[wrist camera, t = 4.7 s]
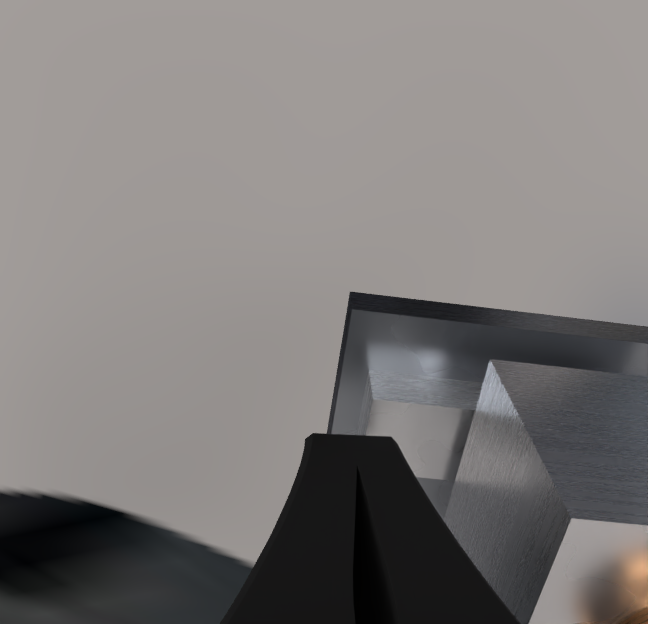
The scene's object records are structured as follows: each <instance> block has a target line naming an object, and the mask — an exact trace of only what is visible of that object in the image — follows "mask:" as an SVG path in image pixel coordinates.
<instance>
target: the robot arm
mask: <svg viewBox="0 0 648 624" xmlns="http://www.w3.org/2000/svg"><path fill="white" fill-rule="evenodd" d="M220 624H521V623H520V622H519V621H518V620H517V618H516V617H515V616H514V615H513V614H512V612H511V611H510V610H509V609H508V607H507V606H506V605H505V604H504V602H503V601H502V600H501V599H500V598H499V596H498V595H497V594H496V592H495V591H494V590H493V588H492V587H491V586H490V585H489V583H488V582H487V581H486V579H485V578H484V577H483V575H482V574H481V573H480V572H479V570H478V569H477V568H476V566H475V565H474V564H473V562H472V561H471V559H470V558H469V557H468V555H467V554H466V553H465V551H464V550H463V548H462V547H461V546H460V544H459V543H458V541H457V540H456V538H455V537H454V535H453V534H452V532H451V531H450V530H449V528H448V527H447V525H446V524H445V522H444V521H443V519H442V518H441V516H440V515H439V513H438V512H437V510H436V509H435V507H434V506H433V504H432V503H431V501H430V499H429V498H428V496H427V495H426V493H425V491H424V490H423V488H422V486H421V485H420V483H419V481H418V480H417V478H416V476H415V475H414V473H413V471H412V470H411V468H410V466H409V464H408V462H407V461H406V459H405V457H404V455H403V453H402V451H401V449H400V447H399V445H398V443H397V442H396V441H395V440H394V439H393V438H392V437H391V436H367V435H343V434H318V433H313V434H311V435H310V436H309V437H307V438H306V439H305V447H304V452H303V456H302V460H301V464H300V467H299V470H298V473H297V476H296V478H295V481H294V484H293V486H292V489H291V492H290V494H289V496H288V499H287V501H286V503H285V506H284V508H283V510H282V512H281V514H280V517H279V519H278V521H277V523H276V525H275V528H274V530H273V532H272V534H271V536H270V538H269V540H268V542H267V543H266V545H265V547H264V549H263V551H262V553H261V554H260V556H259V558H258V560H257V562H256V564H255V565H254V567H253V569H252V571H251V573H250V575H249V576H248V578H247V580H246V582H245V584H244V585H243V587H242V589H241V590H240V592H239V594H238V595H237V597H236V599H235V600H234V602H233V604H232V605H231V607H230V609H229V610H228V612H227V613H226V615H225V617H224V618H223V620H222V621H221V623H220Z"/></svg>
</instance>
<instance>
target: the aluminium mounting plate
mask: <svg viewBox="0 0 648 624" xmlns="http://www.w3.org/2000/svg"><path fill="white" fill-rule="evenodd" d="M490 359H494V360H503V361H512V362H521V363H530V364H538V365H547V366H556V367H565V368H574V369H583V370H592V371H601V372H609V373H618V374H627V375H636V376H645V377H648V327H645V326H636V325H628V324H620V323H611V322H603V321H593V320H585V319H577V318H569V317H560V316H551V315H544V314H535V313H526V312H518V311H510V310H501V309H492V308H484V307H476V306H467V305H459V304H450V303H442V302H433V301H425V300H416V299H408V298H399V297H391V296H383V295H374V294H366V293H357V292H350V295H349V301H348V307H347V313H346V320H345V326H344V332H343V338H342V344H341V350H340V356H339V363H338V369H337V375H336V381H335V387H334V393H333V399H332V405H331V411H330V418H329V424H328V430H327V434H343V435H367V436H391V437H392V438H393V439H394V440H395V441H396V442H397V443H398V445H399V447H400V449H401V451H402V453H403V455H404V457H405V459H406V461H407V462H408V464H409V466H410V468H411V470H412V471H413V473H414V475H415V476H416V478H417V480H418V481H419V483H420V485H421V486H422V488H423V490H424V491H425V493H426V495H427V496H428V498H429V499H430V501H431V503H432V504H433V506H434V507H435V509H436V510H437V512H438V513H439V515H440V516H441V518H442V519H443V521H444V517H445V514H446V510H447V507H448V503H449V500H450V496H451V493H452V489H453V486H454V483H455V479H456V476H457V472H458V469H459V465H460V462H461V458H462V455H463V451H464V448H465V444H466V441H467V437H468V434H469V430H470V427H471V423H472V420H473V416H474V413H475V409H476V406H477V402H478V399H479V395H480V392H481V388H482V385H483V381H484V378H485V375H486V371H487V368H488V364H489V361H490Z"/></svg>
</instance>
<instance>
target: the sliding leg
mask: <svg viewBox="0 0 648 624" xmlns="http://www.w3.org/2000/svg"><path fill="white" fill-rule="evenodd" d="M444 522H445V524H446V525H447V527H448V528H449V530H450V531H451V532H452V534H453V535H454V537H455V538H456V540H457V541H458V543H459V544H460V546H461V547H462V548H463V550H464V551H465V553H466V554H467V555H468V557H469V558H470V559H471V561H472V562H473V564H474V565H475V566H476V568H477V569H478V570H479V572H480V573H481V574H482V575H483V577H484V578H485V579H486V581H487V582H488V583H489V585H490V586H491V587H492V588H493V590H494V591H495V592H496V594H497V595H498V596H499V598H500V599H501V600H502V601H503V602H504V604H505V605H506V606H507V607H508V609H509V610H510V611H511V612H512V614H513V615H514V616H515V617H516V618H517V620H518V621H519V622H520V623H521V624H648V377H645V376H636V375H627V374H618V373H609V372H601V371H592V370H583V369H574V368H565V367H556V366H547V365H538V364H530V363H521V362H512V361H503V360H494V359H490V361H489V364H488V368H487V371H486V375H485V378H484V381H483V385H482V388H481V392H480V395H479V399H478V402H477V406H476V409H475V413H474V416H473V420H472V423H471V427H470V430H469V434H468V437H467V441H466V444H465V448H464V451H463V455H462V458H461V462H460V465H459V469H458V472H457V476H456V479H455V483H454V486H453V489H452V493H451V496H450V500H449V503H448V507H447V510H446V514H445V517H444Z"/></svg>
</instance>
